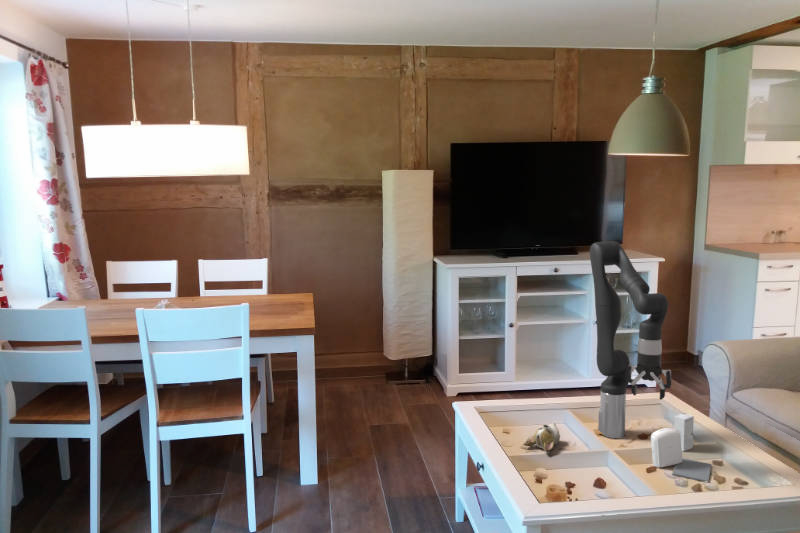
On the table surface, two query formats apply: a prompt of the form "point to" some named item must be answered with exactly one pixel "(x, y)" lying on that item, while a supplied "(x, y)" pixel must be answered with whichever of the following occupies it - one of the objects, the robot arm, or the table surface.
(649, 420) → the table surface
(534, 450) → the table surface
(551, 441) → the ceramic sculpture
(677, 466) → the mat
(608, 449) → the table surface
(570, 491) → the table surface
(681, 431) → the skincare box
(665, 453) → the photo printer
